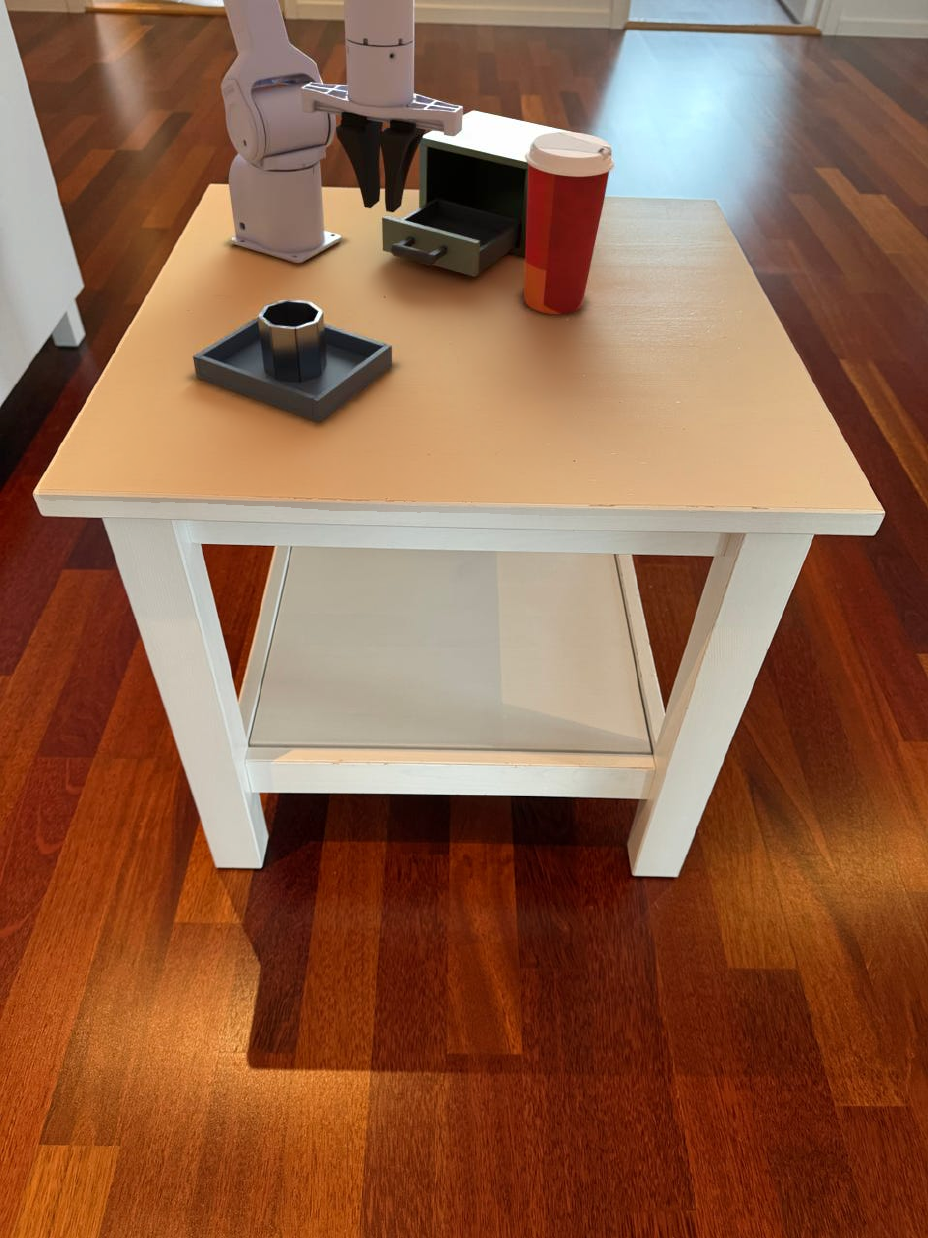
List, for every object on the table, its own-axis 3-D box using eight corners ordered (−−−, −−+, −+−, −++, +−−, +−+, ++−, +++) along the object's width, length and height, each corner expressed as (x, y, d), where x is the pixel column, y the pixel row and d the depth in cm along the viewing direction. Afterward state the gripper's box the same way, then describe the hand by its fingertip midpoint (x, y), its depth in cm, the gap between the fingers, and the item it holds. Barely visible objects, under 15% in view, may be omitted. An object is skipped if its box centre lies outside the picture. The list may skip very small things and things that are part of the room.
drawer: (363, 262, 97) (362, 228, 94) (435, 218, 106) (435, 186, 103) (457, 290, 93) (459, 255, 90) (522, 242, 102) (525, 209, 100)
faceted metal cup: (255, 362, 82) (248, 309, 78) (305, 346, 84) (301, 294, 81) (285, 387, 79) (279, 333, 75) (336, 370, 81) (333, 317, 78)
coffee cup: (603, 294, 96) (628, 139, 85) (577, 326, 90) (599, 165, 80) (529, 276, 98) (544, 123, 88) (499, 307, 93) (511, 147, 82)
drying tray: (196, 377, 80) (192, 355, 79) (275, 327, 88) (273, 306, 86) (319, 423, 76) (317, 400, 75) (392, 366, 83) (392, 345, 82)
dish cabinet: (418, 228, 106) (419, 136, 99) (469, 197, 114) (473, 109, 107) (526, 257, 102) (535, 163, 95) (571, 223, 109) (582, 133, 102)
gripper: (477, 38, 77) (470, 204, 87) (322, 17, 81) (331, 179, 90) (448, 58, 73) (443, 231, 82) (284, 34, 76) (297, 203, 85)
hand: (382, 206), depth 86 cm, fingers closed
